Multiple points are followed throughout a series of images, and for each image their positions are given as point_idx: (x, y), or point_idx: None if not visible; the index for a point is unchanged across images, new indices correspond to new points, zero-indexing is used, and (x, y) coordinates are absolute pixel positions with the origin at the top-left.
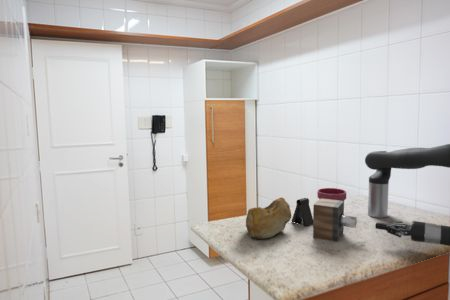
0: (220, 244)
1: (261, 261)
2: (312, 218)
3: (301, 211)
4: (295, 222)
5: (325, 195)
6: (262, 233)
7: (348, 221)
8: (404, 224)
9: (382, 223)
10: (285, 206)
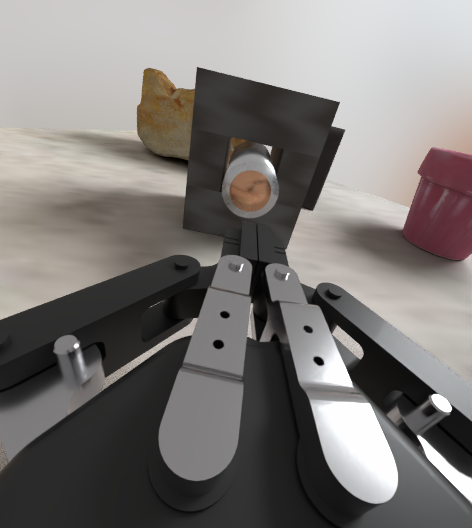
0: (115, 131)
1: (21, 138)
2: (317, 194)
3: None
4: None
5: (431, 155)
6: (143, 134)
7: (227, 169)
8: (319, 454)
9: (264, 245)
10: None
